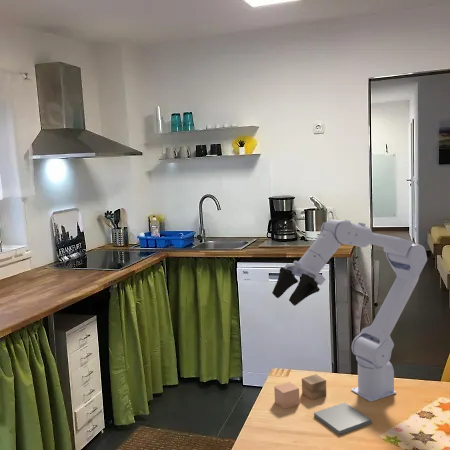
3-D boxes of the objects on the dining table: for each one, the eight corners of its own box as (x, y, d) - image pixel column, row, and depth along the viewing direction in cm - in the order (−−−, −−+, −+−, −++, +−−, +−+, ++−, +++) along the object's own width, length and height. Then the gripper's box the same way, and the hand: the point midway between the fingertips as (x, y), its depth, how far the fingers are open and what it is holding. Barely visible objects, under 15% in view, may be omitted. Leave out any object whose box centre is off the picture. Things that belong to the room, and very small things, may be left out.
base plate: (344, 406, 132) (344, 402, 132) (371, 423, 123) (371, 419, 123) (314, 416, 128) (314, 412, 128) (339, 434, 119) (339, 431, 119)
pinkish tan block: (290, 397, 138) (289, 381, 138) (299, 404, 134) (299, 388, 134) (274, 402, 136) (274, 386, 136) (283, 409, 132) (283, 393, 132)
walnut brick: (316, 389, 142) (316, 374, 142) (326, 395, 138) (326, 380, 138) (302, 393, 140) (301, 378, 140) (311, 400, 136) (311, 384, 136)
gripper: (290, 243, 130) (258, 282, 127) (325, 252, 117) (290, 296, 114) (306, 260, 133) (274, 299, 130) (341, 270, 120) (307, 314, 117)
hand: (283, 299), depth 122 cm, fingers open, 7 cm apart
